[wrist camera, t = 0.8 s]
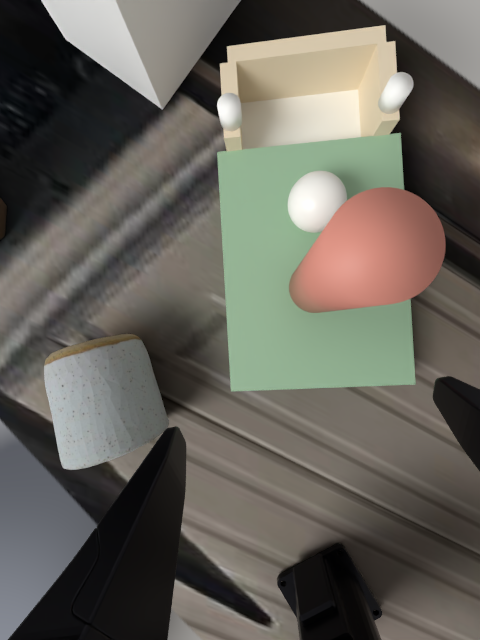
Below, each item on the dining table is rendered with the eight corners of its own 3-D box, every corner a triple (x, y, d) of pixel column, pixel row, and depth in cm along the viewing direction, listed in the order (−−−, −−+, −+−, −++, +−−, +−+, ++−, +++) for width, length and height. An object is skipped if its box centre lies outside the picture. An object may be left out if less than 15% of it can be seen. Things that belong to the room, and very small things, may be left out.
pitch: (399, 377, 23) (415, 384, 21) (233, 384, 24) (230, 391, 22) (386, 152, 23) (400, 133, 21) (221, 168, 24) (217, 152, 22)
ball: (347, 221, 21) (367, 198, 17) (302, 249, 21) (312, 233, 17) (320, 177, 21) (333, 145, 17) (275, 206, 22) (278, 180, 18)
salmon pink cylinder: (351, 295, 21) (468, 264, 9) (306, 322, 21) (363, 326, 9) (324, 251, 21) (404, 164, 9) (279, 278, 22) (301, 228, 10)
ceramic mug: (154, 327, 25) (104, 331, 17) (182, 414, 25) (144, 457, 17) (50, 362, 26) (-41, 380, 18) (76, 446, 26) (-5, 500, 18)
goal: (378, 153, 23) (414, 102, 18) (227, 168, 24) (218, 124, 19) (373, 74, 23) (408, -1, 18) (223, 92, 24) (212, 26, 19)
